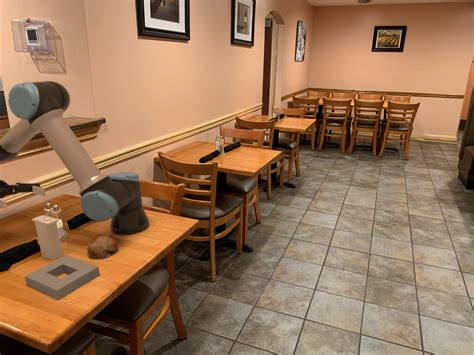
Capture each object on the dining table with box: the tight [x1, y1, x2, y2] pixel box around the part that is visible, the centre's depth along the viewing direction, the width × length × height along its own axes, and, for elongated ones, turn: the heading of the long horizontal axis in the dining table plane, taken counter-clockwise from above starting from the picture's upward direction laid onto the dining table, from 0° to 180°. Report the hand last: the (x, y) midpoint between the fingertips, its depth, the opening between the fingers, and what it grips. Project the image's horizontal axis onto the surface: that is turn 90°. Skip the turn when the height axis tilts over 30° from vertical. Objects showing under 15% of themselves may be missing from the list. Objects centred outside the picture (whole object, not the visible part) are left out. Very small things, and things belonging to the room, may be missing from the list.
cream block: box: [31, 214, 64, 261], centre depth 122 cm, size 4×9×15 cm, turn 60°
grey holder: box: [24, 254, 101, 300], centre depth 109 cm, size 14×16×3 cm
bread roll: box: [86, 235, 119, 260], centre depth 125 cm, size 10×10×8 cm
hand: (25, 198), depth 124 cm, fingers open, 13 cm apart
